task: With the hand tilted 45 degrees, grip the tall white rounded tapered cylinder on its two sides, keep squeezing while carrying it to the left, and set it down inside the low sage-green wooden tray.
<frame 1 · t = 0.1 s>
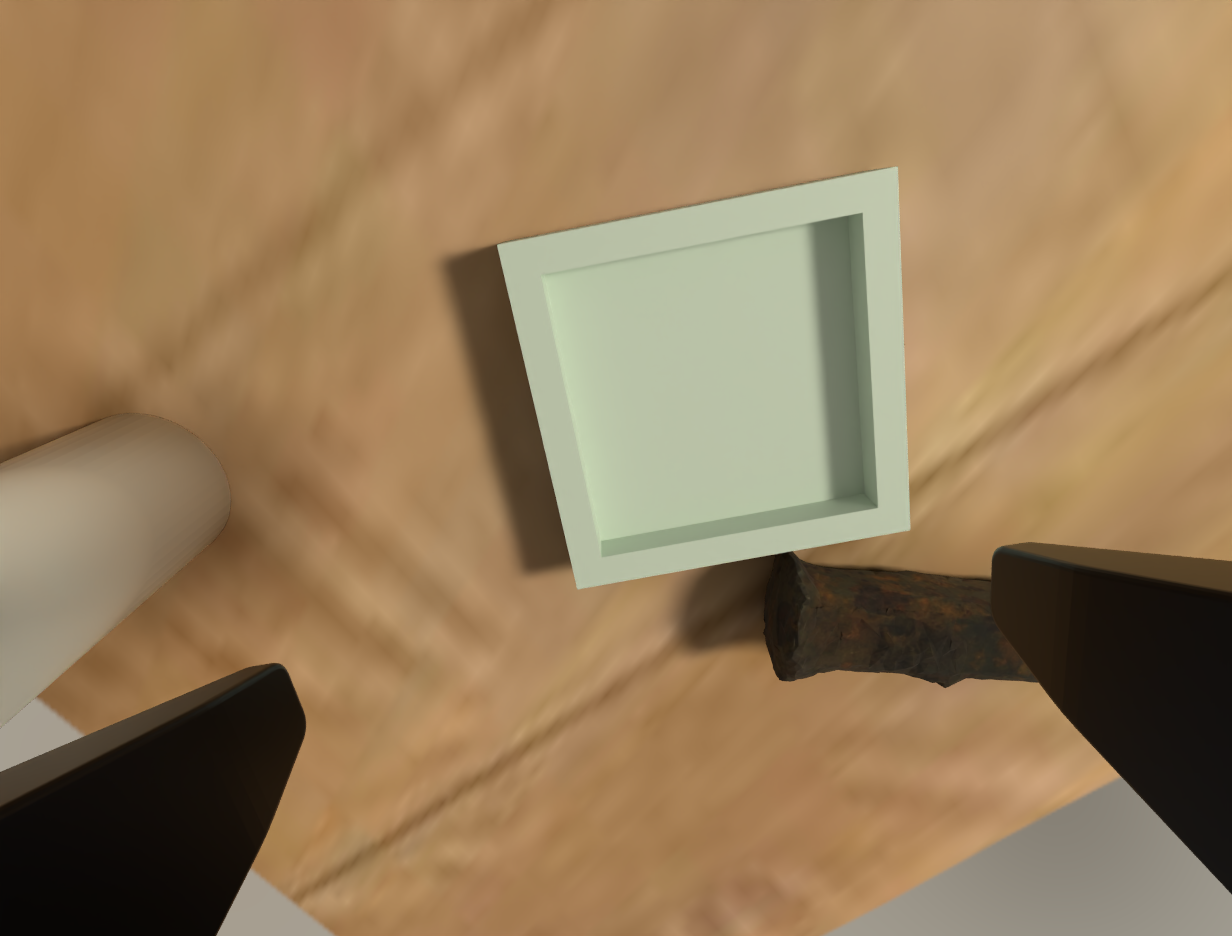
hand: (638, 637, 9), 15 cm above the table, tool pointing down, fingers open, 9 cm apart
white rounded tapered cylinder: (150, 487, 23), on the table
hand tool: (1004, 585, 26), on the table
tray: (710, 383, 23), on the table
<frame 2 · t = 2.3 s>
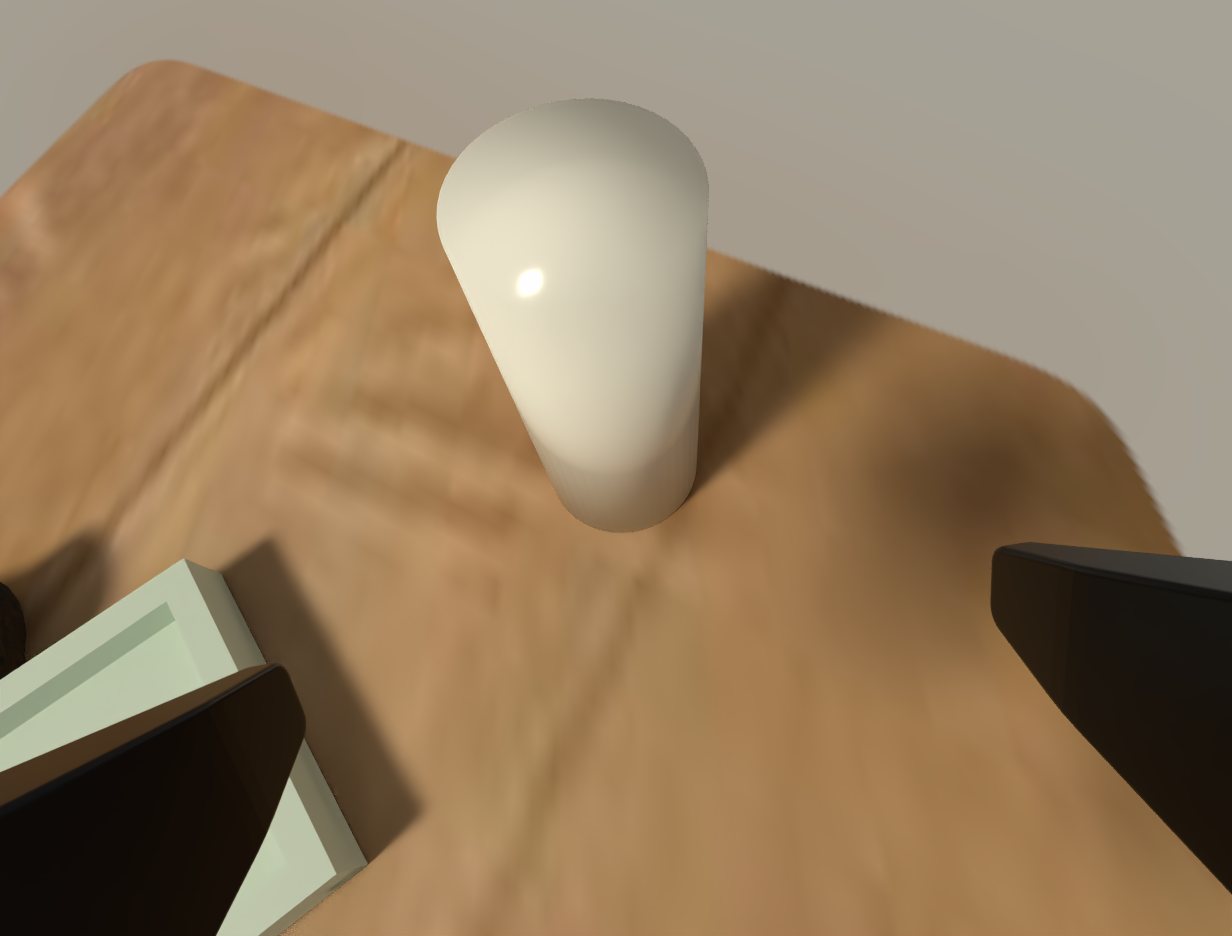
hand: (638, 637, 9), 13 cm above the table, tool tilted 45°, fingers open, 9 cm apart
white rounded tapered cylinder: (623, 462, 25), on the table
tray: (130, 820, 21), on the table
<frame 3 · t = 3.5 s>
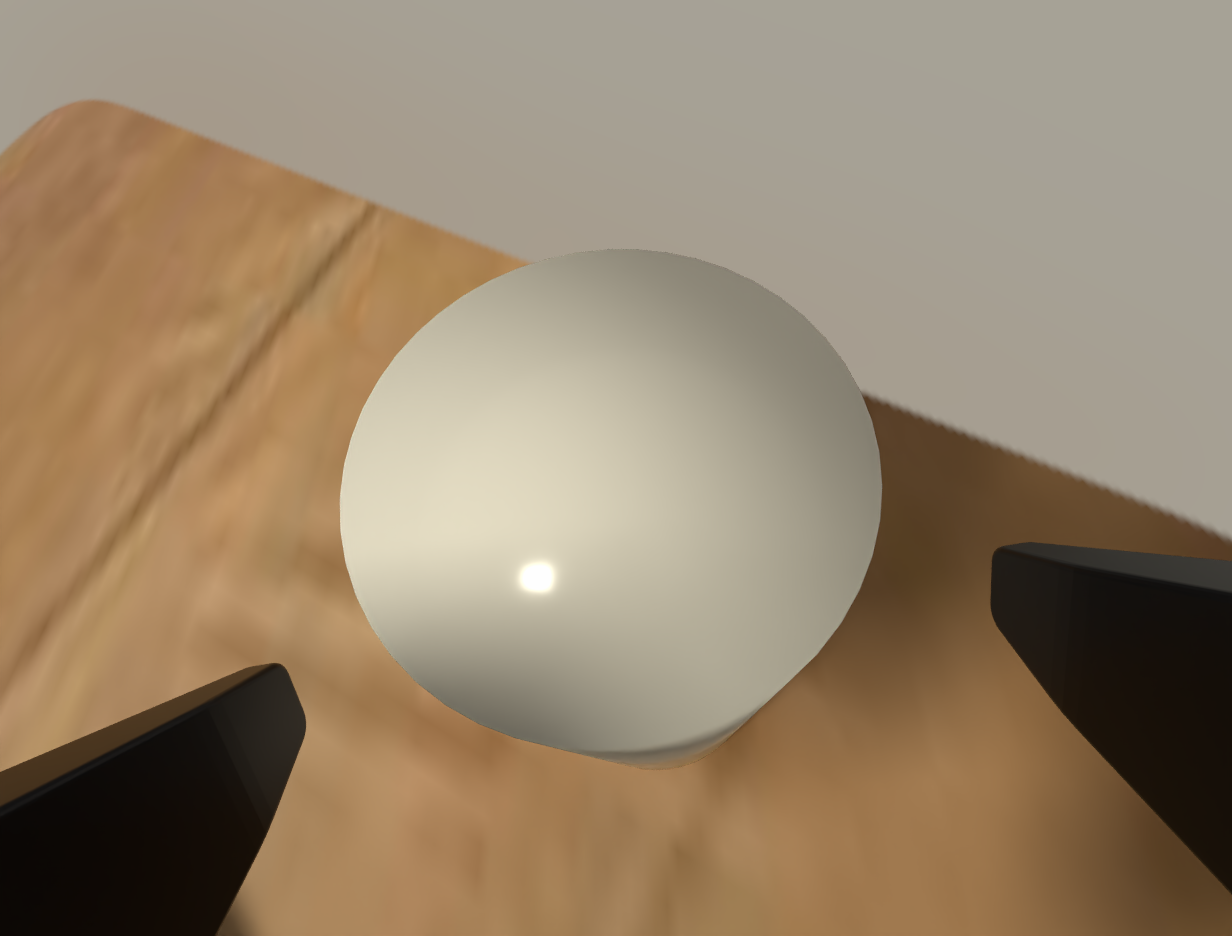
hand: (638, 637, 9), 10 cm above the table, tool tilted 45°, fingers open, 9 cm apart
white rounded tapered cylinder: (653, 661, 18), on the table
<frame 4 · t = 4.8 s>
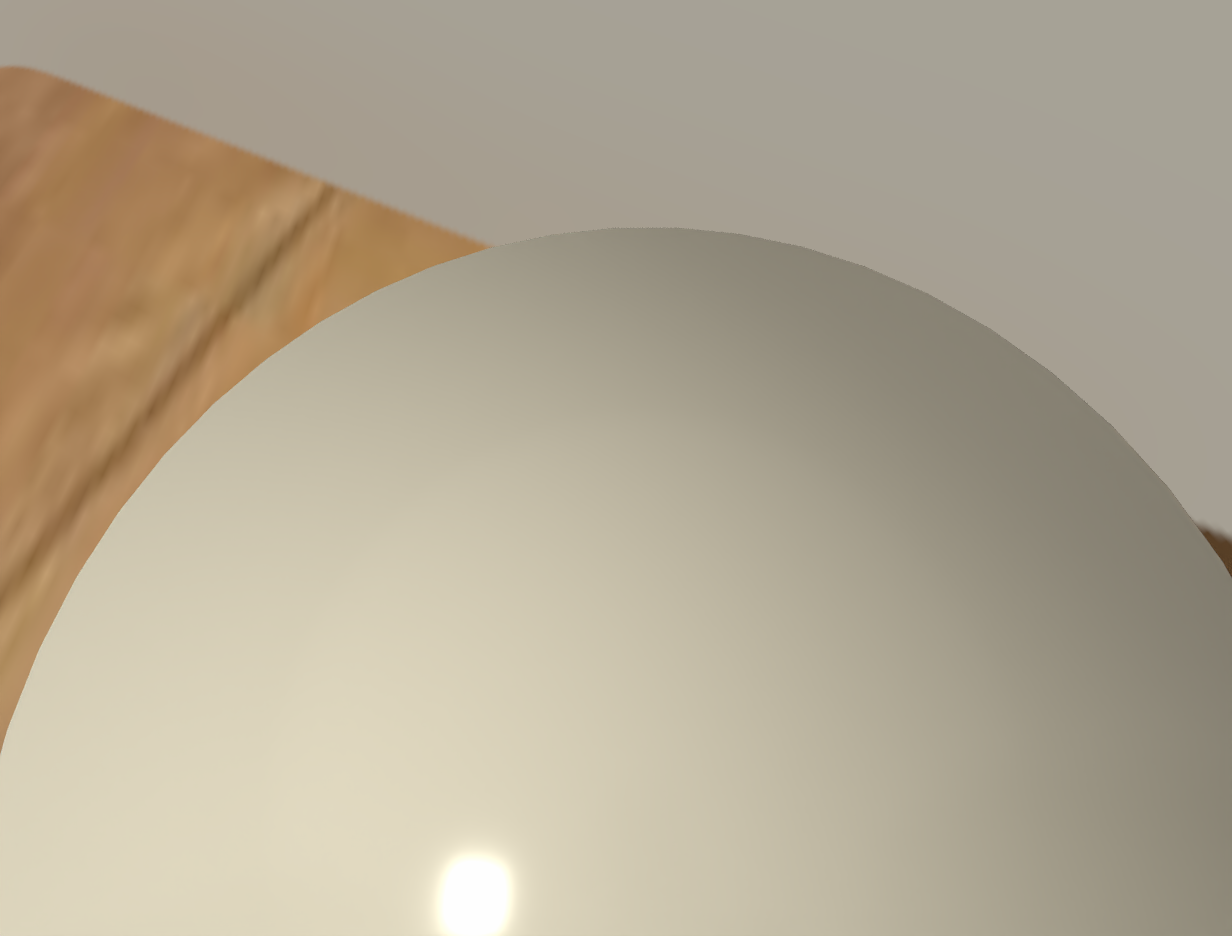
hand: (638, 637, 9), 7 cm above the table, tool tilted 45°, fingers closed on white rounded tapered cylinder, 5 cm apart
white rounded tapered cylinder: (669, 764, 14), on the table, touching gripper
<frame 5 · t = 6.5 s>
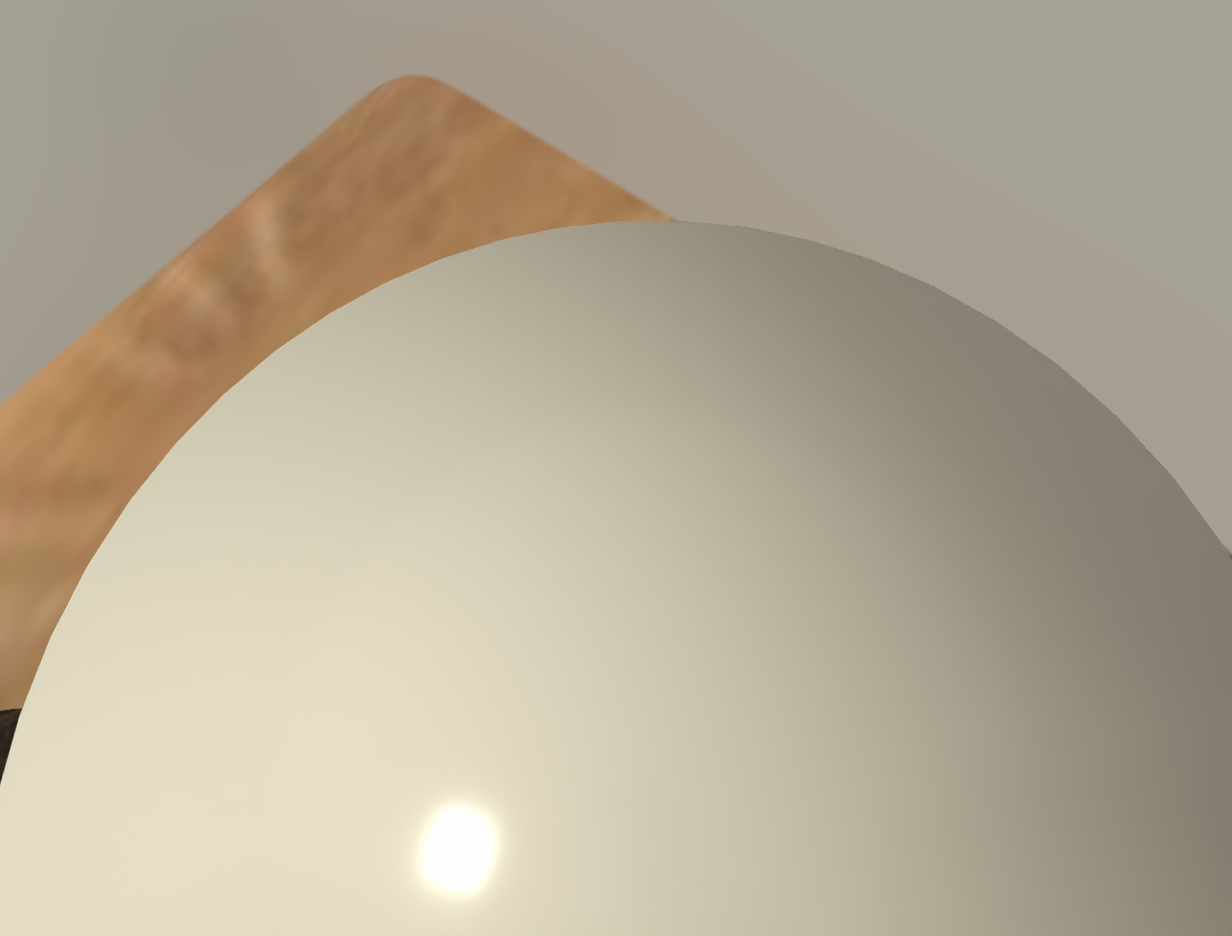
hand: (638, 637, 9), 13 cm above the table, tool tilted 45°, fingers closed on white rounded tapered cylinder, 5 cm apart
white rounded tapered cylinder: (670, 761, 14), point 7 cm above the table, touching gripper
when the fingers open (9 cm above the table, at t = 8.4 s): white rounded tapered cylinder drops 2 cm, resting on tray.
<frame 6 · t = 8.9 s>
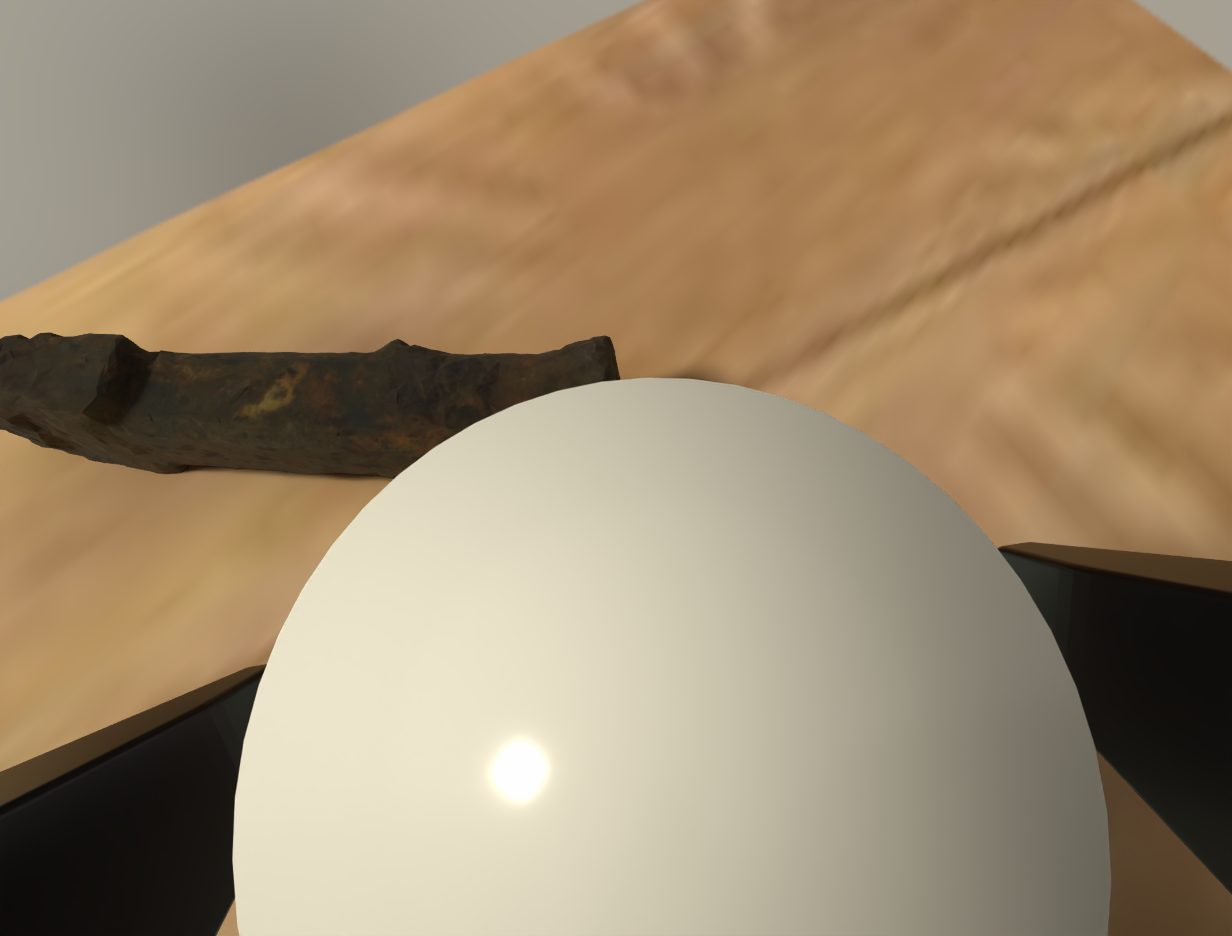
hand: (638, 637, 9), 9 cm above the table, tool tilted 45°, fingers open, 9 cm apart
white rounded tapered cylinder: (671, 765, 16), point 1 cm above the table, touching tray
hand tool: (319, 463, 21), on the table
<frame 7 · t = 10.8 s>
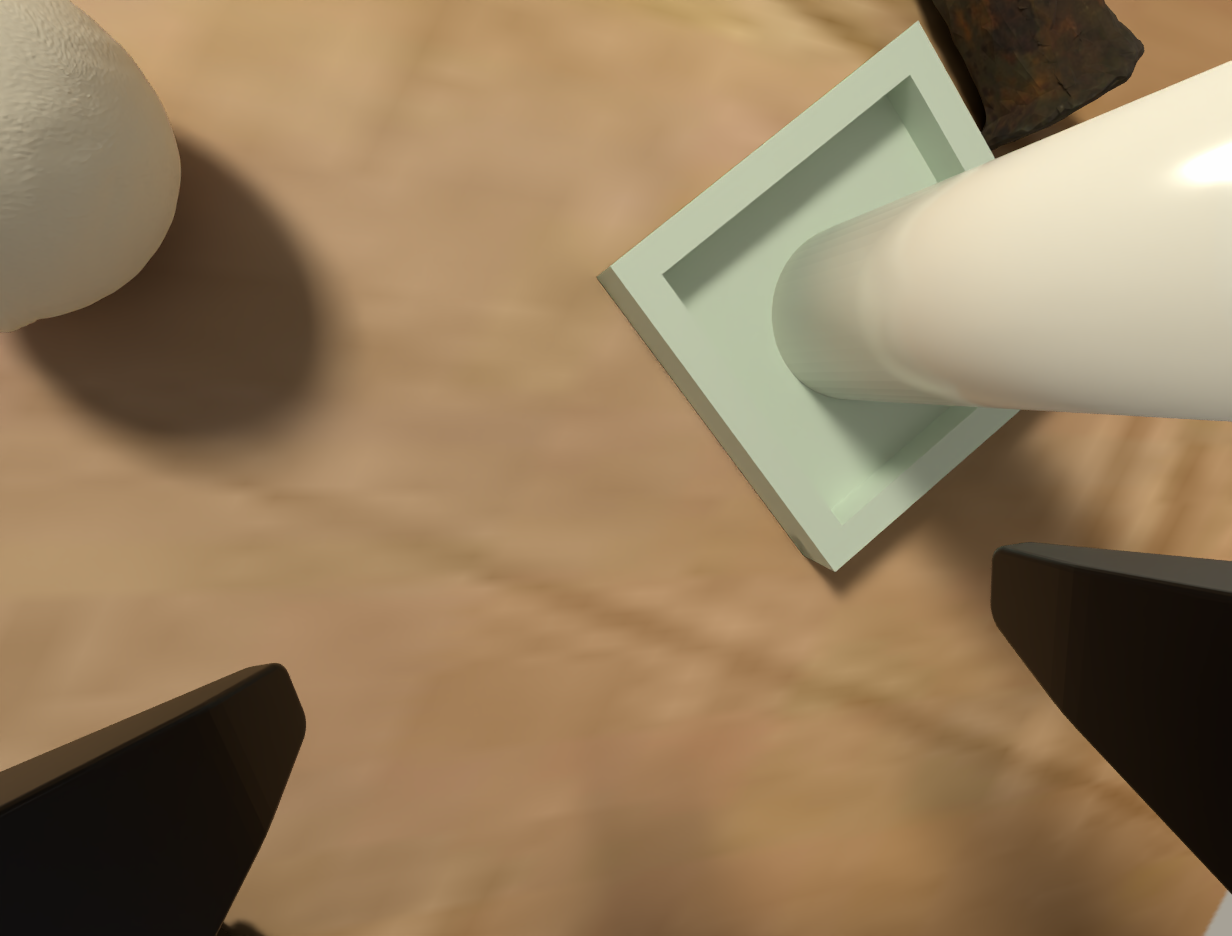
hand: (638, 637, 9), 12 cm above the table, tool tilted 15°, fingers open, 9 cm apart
white ball: (68, 198, 17), on the table
white rounded tapered cylinder: (851, 313, 21), point 1 cm above the table, touching tray
tray: (838, 313, 22), on the table
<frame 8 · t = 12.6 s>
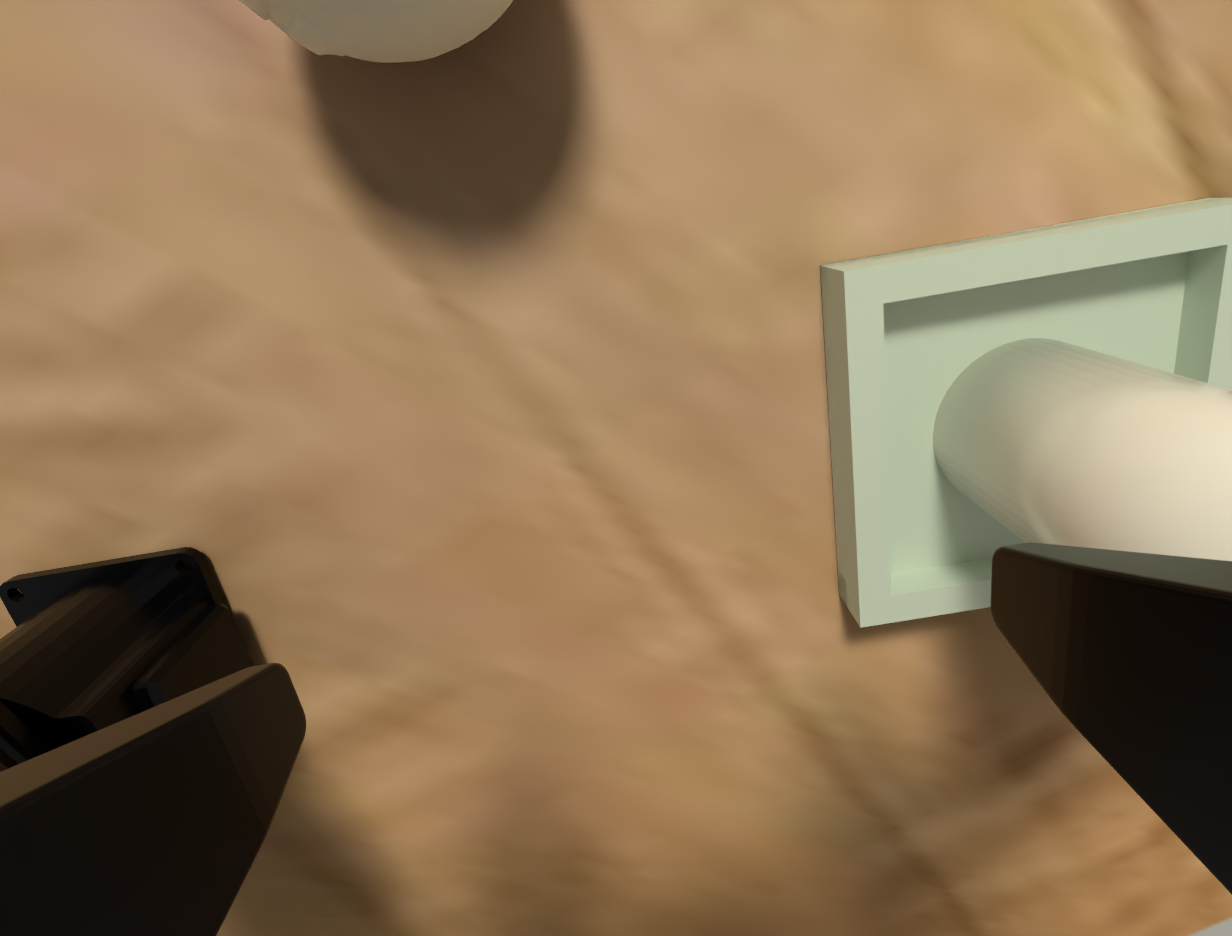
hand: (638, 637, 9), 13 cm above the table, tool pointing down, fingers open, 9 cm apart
white rounded tapered cylinder: (1018, 424, 21), point 1 cm above the table, touching tray
tray: (1005, 415, 22), on the table
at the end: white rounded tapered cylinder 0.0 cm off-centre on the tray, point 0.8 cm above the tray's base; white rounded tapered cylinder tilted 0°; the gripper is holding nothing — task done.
